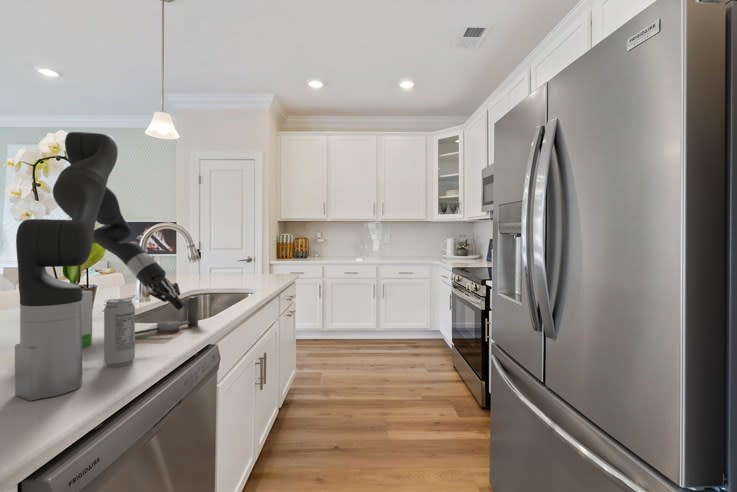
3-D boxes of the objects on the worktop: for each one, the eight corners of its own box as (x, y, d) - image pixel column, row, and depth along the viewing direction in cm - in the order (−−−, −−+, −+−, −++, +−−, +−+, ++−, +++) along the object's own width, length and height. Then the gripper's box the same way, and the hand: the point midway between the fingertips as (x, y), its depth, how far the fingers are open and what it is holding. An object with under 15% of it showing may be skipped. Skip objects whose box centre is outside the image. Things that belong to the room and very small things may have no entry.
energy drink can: (124, 357, 92) (125, 297, 91) (140, 361, 89) (140, 299, 89) (98, 365, 86) (98, 301, 86) (114, 369, 83) (114, 303, 83)
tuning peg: (191, 322, 123) (192, 295, 123) (202, 325, 120) (202, 297, 119) (129, 334, 107) (129, 303, 107) (140, 337, 103) (140, 305, 103)
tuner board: (164, 347, 100) (164, 342, 100) (115, 347, 100) (115, 342, 100) (198, 327, 122) (198, 323, 122) (158, 327, 122) (158, 323, 122)
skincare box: (62, 358, 90) (62, 294, 90) (40, 356, 92) (40, 293, 91) (94, 348, 99) (94, 290, 98) (73, 346, 100) (73, 289, 100)
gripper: (140, 263, 115) (178, 303, 114) (166, 260, 128) (200, 296, 127) (124, 279, 115) (161, 320, 114) (151, 275, 128) (185, 311, 128)
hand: (181, 307), depth 121 cm, fingers closed
